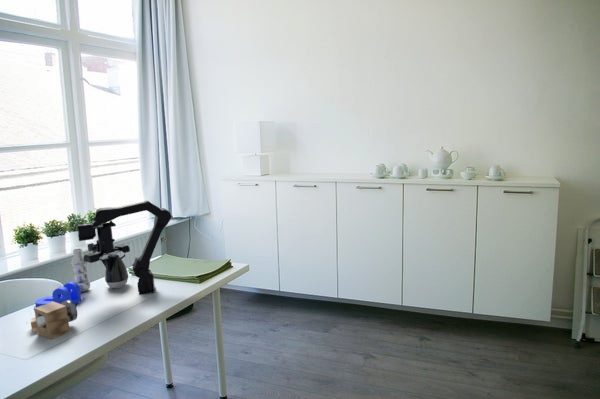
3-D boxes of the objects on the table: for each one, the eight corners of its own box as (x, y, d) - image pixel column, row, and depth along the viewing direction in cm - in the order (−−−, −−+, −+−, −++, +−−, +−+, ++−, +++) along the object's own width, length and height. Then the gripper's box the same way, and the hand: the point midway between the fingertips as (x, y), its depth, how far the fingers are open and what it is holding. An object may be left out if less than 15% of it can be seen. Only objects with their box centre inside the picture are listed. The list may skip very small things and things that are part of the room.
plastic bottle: (78, 289, 212) (72, 248, 208) (93, 288, 212) (87, 247, 209) (72, 294, 205) (66, 252, 202) (88, 293, 206) (82, 251, 202)
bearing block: (57, 326, 172) (53, 301, 170) (69, 331, 167) (66, 306, 165) (38, 333, 166) (34, 308, 165) (50, 339, 161) (46, 313, 160)
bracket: (81, 301, 197) (78, 281, 195) (68, 309, 189) (66, 288, 187) (45, 300, 200) (42, 281, 199) (31, 308, 192) (28, 288, 190)
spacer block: (44, 325, 173) (42, 315, 173) (44, 329, 170) (42, 319, 169) (32, 328, 172) (30, 318, 171) (32, 332, 168) (30, 322, 167)
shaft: (67, 317, 175) (64, 298, 173) (78, 321, 170) (75, 301, 169) (35, 330, 165) (31, 309, 163) (46, 335, 160) (43, 313, 159)
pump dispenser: (133, 285, 213) (130, 254, 211) (112, 291, 206) (108, 259, 204) (123, 280, 220) (120, 250, 218) (102, 287, 213) (98, 256, 210)
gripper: (113, 230, 205) (117, 263, 208) (74, 240, 190) (78, 275, 193) (128, 233, 199) (132, 267, 202) (88, 243, 184) (93, 280, 187)
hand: (109, 272), depth 196 cm, fingers closed
